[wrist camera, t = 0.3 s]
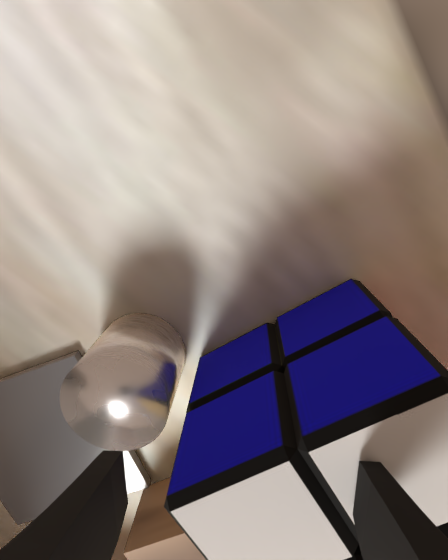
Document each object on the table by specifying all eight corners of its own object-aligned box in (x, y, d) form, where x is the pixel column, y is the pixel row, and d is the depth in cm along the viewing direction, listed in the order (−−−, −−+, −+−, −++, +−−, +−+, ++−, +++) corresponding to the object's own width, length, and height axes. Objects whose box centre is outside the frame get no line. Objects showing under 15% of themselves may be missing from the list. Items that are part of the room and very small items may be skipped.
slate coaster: (150, 480, 24) (148, 487, 24) (22, 516, 26) (17, 524, 25) (78, 350, 22) (73, 355, 21) (-59, 400, 23) (-67, 406, 23)
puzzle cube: (355, 273, 20) (458, 376, 10) (430, 415, 22) (572, 610, 12) (195, 357, 22) (155, 509, 12) (279, 479, 24) (300, 689, 14)
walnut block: (235, 513, 25) (233, 586, 21) (177, 533, 26) (163, 607, 21) (204, 463, 24) (195, 529, 20) (144, 486, 25) (123, 553, 20)
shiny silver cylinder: (198, 375, 22) (185, 434, 17) (124, 400, 23) (91, 462, 18) (163, 300, 21) (138, 341, 16) (85, 329, 21) (39, 376, 17)
